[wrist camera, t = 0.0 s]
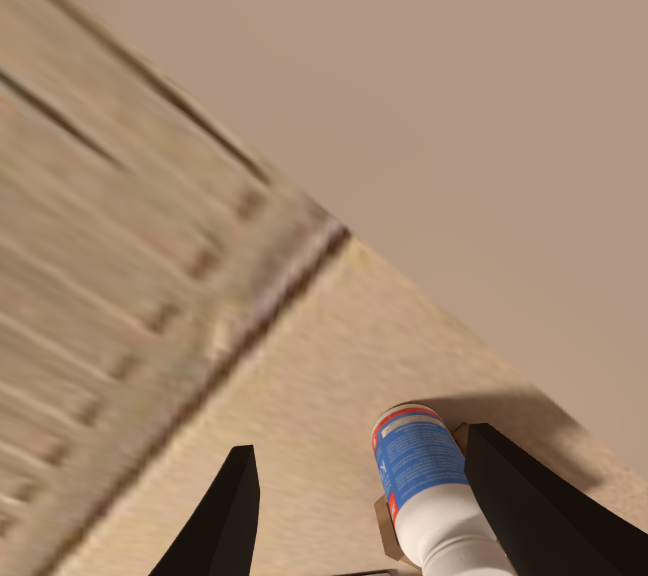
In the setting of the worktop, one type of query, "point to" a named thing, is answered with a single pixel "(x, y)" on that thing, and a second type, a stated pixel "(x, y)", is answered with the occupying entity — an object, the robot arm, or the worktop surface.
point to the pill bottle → (433, 496)
